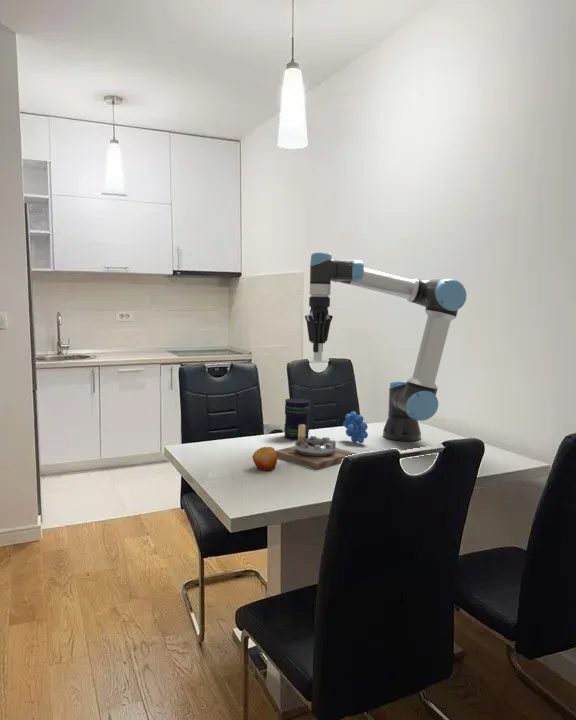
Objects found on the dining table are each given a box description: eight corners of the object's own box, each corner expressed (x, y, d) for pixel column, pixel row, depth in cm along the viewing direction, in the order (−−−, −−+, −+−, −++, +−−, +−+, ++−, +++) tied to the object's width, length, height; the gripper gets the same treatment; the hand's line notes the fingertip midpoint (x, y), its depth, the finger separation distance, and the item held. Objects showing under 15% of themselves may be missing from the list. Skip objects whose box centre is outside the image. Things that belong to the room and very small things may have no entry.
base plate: (312, 446, 211) (312, 440, 211) (355, 458, 197) (355, 451, 197) (274, 456, 197) (274, 449, 197) (317, 469, 183) (317, 462, 183)
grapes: (336, 441, 221) (337, 410, 220) (347, 438, 226) (348, 408, 224) (359, 447, 213) (361, 415, 211) (370, 444, 217) (372, 413, 216)
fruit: (285, 462, 186) (279, 444, 181) (274, 479, 180) (267, 461, 176) (264, 458, 190) (258, 440, 185) (253, 474, 184) (246, 457, 180)
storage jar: (308, 440, 220) (310, 403, 219) (283, 440, 220) (284, 402, 219) (308, 434, 230) (309, 398, 228) (284, 434, 230) (285, 397, 229)
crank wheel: (288, 447, 200) (288, 421, 199) (322, 444, 206) (323, 418, 205) (307, 458, 188) (308, 430, 186) (342, 454, 194) (344, 426, 193)
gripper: (323, 296, 212) (321, 359, 214) (299, 295, 202) (297, 361, 205) (339, 296, 207) (336, 360, 209) (315, 295, 197) (313, 363, 200)
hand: (317, 360), depth 207 cm, fingers closed
